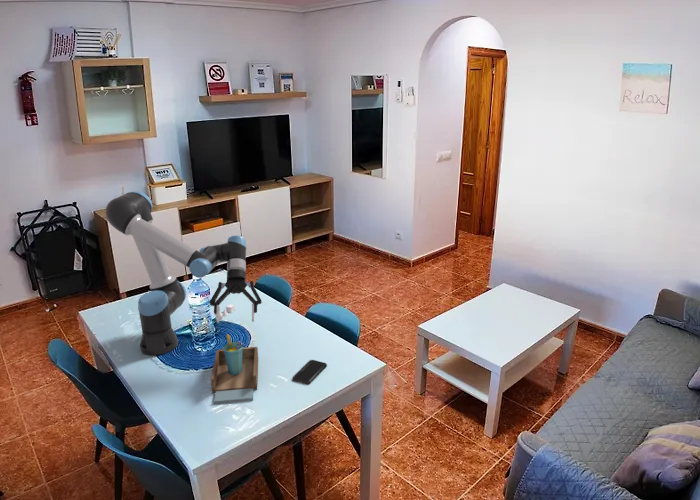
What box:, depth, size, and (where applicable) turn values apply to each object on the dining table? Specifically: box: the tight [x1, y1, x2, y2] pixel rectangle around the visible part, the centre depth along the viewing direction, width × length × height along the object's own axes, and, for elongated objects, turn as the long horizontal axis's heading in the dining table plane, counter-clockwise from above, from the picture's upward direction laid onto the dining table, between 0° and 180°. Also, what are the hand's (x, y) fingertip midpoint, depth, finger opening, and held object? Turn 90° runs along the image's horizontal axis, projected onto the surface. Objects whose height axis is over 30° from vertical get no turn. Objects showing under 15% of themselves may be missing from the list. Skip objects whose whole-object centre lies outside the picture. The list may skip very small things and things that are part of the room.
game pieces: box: [214, 303, 236, 320], centre depth 245 cm, size 12×3×3 cm, turn 156°
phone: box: [291, 359, 328, 385], centre depth 197 cm, size 8×1×15 cm
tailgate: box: [213, 388, 255, 405], centre depth 182 cm, size 13×1×6 cm
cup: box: [222, 334, 246, 375], centre depth 193 cm, size 14×8×15 cm, turn 45°
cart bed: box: [210, 346, 259, 394], centre depth 195 cm, size 16×21×6 cm
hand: (235, 321), depth 200 cm, fingers open, 13 cm apart
